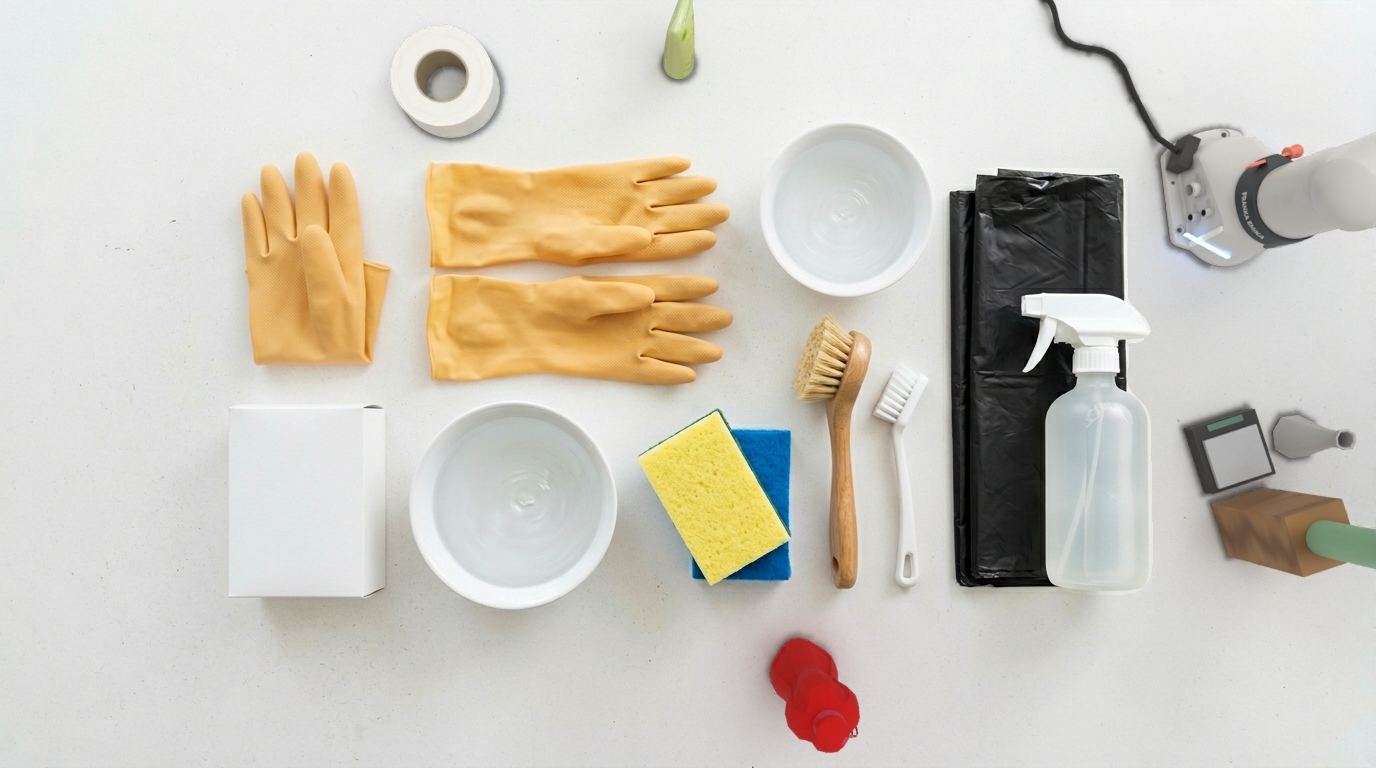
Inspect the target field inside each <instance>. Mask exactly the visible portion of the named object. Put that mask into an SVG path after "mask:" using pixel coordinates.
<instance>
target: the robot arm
mask: <svg viewBox="0 0 1376 768" xmlns="http://www.w3.org/2000/svg"><path fill="white" fill-rule="evenodd" d="M1042 1H1043V2H1045V3H1046V4H1047V5H1048V7H1049V9H1050V12H1051V16H1052V20H1053V25H1054V29H1055V31H1056V34H1057V36H1058V37H1059V39H1060V40H1061V41H1062V42H1063V43H1064V44H1066V45H1067V46H1069V47H1071V48H1072V49H1076V50H1079V51H1084V52H1090V53H1091V52H1092V53H1096V54H1097V53H1098V54H1100V55H1104V56H1106V57H1108V58H1109V59H1110V60H1112V61H1113V62H1114V63H1115V65H1117V67H1118V68H1119V70H1120V72H1121V74H1122V76H1123V79H1124V81H1125V85H1126V87H1127V89H1128V92H1129V94H1130V97H1131V98H1132V100H1133V102H1134V104H1135V106H1136V108H1137V110H1138V112H1139V114H1140V116H1141V119H1142V120H1143V122H1144V124H1145V125H1146V128H1147V129H1148V131H1149V132H1150V134H1151V135H1152V137H1153V138H1154V140H1155V141H1156V142H1157V143H1158V144H1160V145H1161V146H1163V147H1164V148H1166V149H1165V151H1164V152H1163V153H1162V154H1161V156H1160V159H1159V160H1160V161H1159V162H1160V169H1161V177H1162V185H1163V186H1162V187H1163V193H1164V201H1165V202H1164V203H1165V209H1166V211H1165V212H1166V217H1167V225H1168V226H1167V227H1168V235H1169V240H1170V242H1171V244H1172V245H1174V246H1175V247H1178V248H1180V249H1184V250H1188V251H1189V252H1191V253H1192V254H1194V255H1195V256H1196V257H1197V258H1198V259H1200V260H1201V261H1203V262H1205V263H1207V264H1209V265H1213V266H1217V267H1223V268H1225V267H1226V268H1227V267H1234V266H1238V265H1241V264H1243V263H1246V262H1247V261H1249V260H1250V259H1251V258H1253V257H1254V256H1256V255H1258V254H1260V253H1262V252H1264V251H1266V250H1269V249H1270V250H1271V249H1279V248H1283V247H1289V246H1292V245H1295V244H1299V243H1302V242H1304V241H1307V240H1308V239H1311V238H1313V237H1314V236H1316V235H1319V234H1324V233H1327V232H1332V231H1335V230H1340V231H1343V232H1349V233H1351V232H1352V233H1353V232H1355V233H1357V232H1362V231H1366V230H1370V229H1375V228H1376V131H1374V132H1371V133H1369V134H1367V135H1365V136H1363V137H1359V138H1358V139H1355V140H1352V141H1350V142H1347V143H1344V144H1341V145H1337V146H1331V147H1327V148H1324V149H1321V150H1319V151H1316V152H1314V153H1311V154H1309V155H1305V156H1303V154H1304V153H1305V149H1304V146H1303V145H1301V144H1299V143H1296V144H1293V145H1291V146H1286V147H1284V148H1283V149H1282V150H1281V154H1280V153H1274V152H1273V151H1272V150H1271V149H1269V147H1267V146H1266V144H1264V143H1263V141H1262V140H1260V139H1259V138H1257V137H1256V136H1252V135H1251V136H1250V135H1243V134H1242V133H1241V132H1240V131H1238V130H1235V129H1230V128H1214V129H1209V130H1205V131H1204V130H1203V131H1201V132H1198V133H1195V134H1190V133H1188V134H1186V135H1184V136H1182V137H1180V138H1178V139H1177V140H1176V141H1175V142H1174V143H1171V142H1170V141H1168V140H1167V139H1166V138H1164V137H1162V135H1161V134H1160V133H1159V131H1158V130H1157V128H1156V126H1155V125H1154V124H1153V122H1152V119H1151V118H1150V116H1149V114H1148V112H1147V110H1146V108H1145V106H1144V104H1143V102H1142V100H1141V98H1140V96H1139V94H1138V91H1137V90H1136V88H1135V85H1134V83H1133V80H1132V77H1131V75H1130V72H1129V70H1128V68H1127V66H1126V64H1125V62H1123V60H1122V59H1121V58H1120V57H1119V56H1118V55H1117V54H1116V53H1115V52H1114V51H1111V50H1110V49H1107V48H1105V47H1102V46H1096V45H1089V44H1083V43H1079V42H1077V41H1075V40H1072V39H1071V38H1070V37H1069V36H1068V35H1066V33H1065V31H1064V30H1063V28H1062V24H1061V20H1060V16H1059V12H1058V8H1057V5H1056V2H1055V0H1042ZM1302 156H1303V157H1302ZM1293 159H1295V160H1293Z"/></svg>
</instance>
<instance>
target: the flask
mask: <svg viewBox="0 0 1376 768" xmlns="http://www.w3.org/2000/svg"><path fill="white" fill-rule="evenodd" d="M1272 437H1273V445H1274V451H1277V452H1278V453H1280V454H1281V455H1284V456H1285V457H1286V458H1288V459H1297V458H1304V457H1309V456H1312V455H1314V454H1316V453H1319V452H1322V451H1325V450H1328V449H1332V448H1333V449H1335V448H1336V449H1340V450H1342V451H1347V450H1348V451H1349V450H1353V449H1354V447H1355V446H1356V443H1357V437H1356V433H1355V432H1354V431H1352V430H1350V429H1347V428H1346V429H1339V430H1335V429H1331V428H1328V427H1325V426H1323V425H1320V424H1318V423H1316V422H1313V421H1311V420H1309V419H1307V418H1306V417H1304V416H1302V415H1299V414H1294V415H1287V416H1280V418H1279V420H1278V422H1277V424H1276V425H1275V427H1274V428H1273V431H1272Z"/></svg>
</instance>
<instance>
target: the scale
mask: <svg viewBox="0 0 1376 768" xmlns="http://www.w3.org/2000/svg"><path fill="white" fill-rule="evenodd" d="M1183 431H1184V435H1185V437H1186V441H1187V444H1188V447H1189V450H1190V454H1191V456H1192V459H1193V462H1194V463H1193V464H1194V465H1195V468H1196V471H1197V475H1198V478H1199V482H1200V484H1201V487H1202V490H1203V493H1204V494H1209V495H1216V494H1218V493H1221V492H1224V491H1227V490H1230V489H1233V488H1237V487H1239V486H1242V485H1243V486H1244V485H1245V484H1249V483H1251V482H1254V481H1257V480H1260V479H1265V478H1267V477H1270V476H1273V475H1276V474H1277V472H1276V469H1275V466H1274V462H1273V460H1272V456H1271V454H1270V451H1269V447H1268V444H1267V442H1266V439H1265V436H1264V432H1263V429H1262V426H1261V423H1260V420H1259V417H1258V414H1257V411H1256V408H1243V409H1240V410H1238V411H1237V410H1236V411H1234V412H1230V413H1227V414H1225V415H1222V416H1219V417H1215V418H1212V419H1209V420H1206V421H1202V422H1201V423H1197V424H1194V425H1191V426H1188V427H1185V428H1183Z"/></svg>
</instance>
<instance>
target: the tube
mask: <svg viewBox="0 0 1376 768" xmlns="http://www.w3.org/2000/svg"><path fill="white" fill-rule="evenodd" d="M671 15H672V16H671V18H670V21H669V23H668V27H667V31H666V34H665V40H664V47H663V60H662V61H663V63H662V64H663V65H662V66H663V69H664V72H665V74H666V75H667V76H669V77H670V78H672V79H674V80H683V79H685V78H687V77H689V76H690V75H691V74H692V72H693V70H694V67H695V66H694V64H695V17H694V15H695V14H694V3H693V0H678V1H677V2H676V5H675V8H674V10H673V13H672V14H671Z"/></svg>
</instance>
